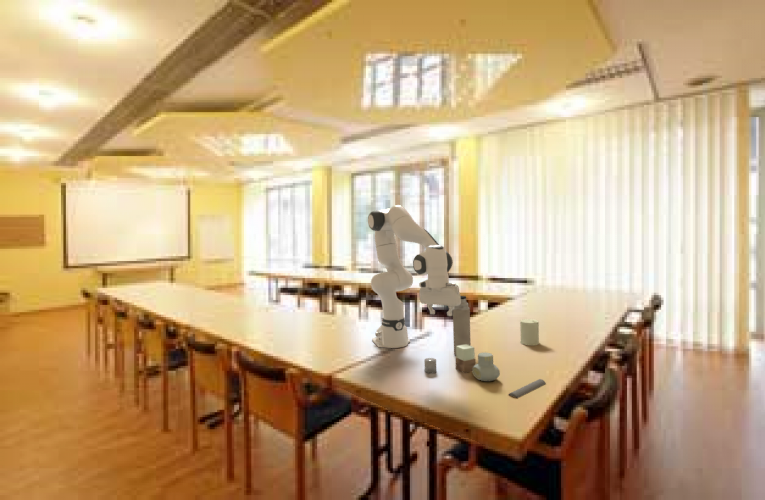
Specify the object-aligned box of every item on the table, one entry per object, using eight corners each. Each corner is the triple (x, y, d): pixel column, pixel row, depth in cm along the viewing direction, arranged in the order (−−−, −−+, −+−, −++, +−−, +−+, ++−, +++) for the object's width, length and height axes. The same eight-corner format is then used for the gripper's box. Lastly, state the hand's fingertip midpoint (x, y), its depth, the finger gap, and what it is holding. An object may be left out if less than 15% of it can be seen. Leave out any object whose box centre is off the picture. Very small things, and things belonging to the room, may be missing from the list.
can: (533, 346, 205) (533, 322, 205) (516, 343, 212) (516, 320, 212) (542, 342, 212) (542, 319, 211) (526, 339, 218) (525, 317, 218)
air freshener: (502, 382, 161) (502, 357, 160) (483, 385, 158) (483, 359, 158) (487, 373, 171) (487, 349, 171) (470, 375, 169) (469, 351, 168)
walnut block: (455, 368, 178) (455, 357, 177) (466, 366, 180) (466, 355, 180) (464, 373, 172) (464, 361, 172) (475, 370, 175) (475, 358, 175)
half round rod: (546, 385, 158) (546, 380, 158) (517, 400, 145) (517, 395, 145) (536, 382, 161) (536, 377, 161) (507, 396, 149) (507, 391, 149)
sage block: (456, 357, 177) (456, 346, 177) (466, 355, 180) (466, 344, 180) (464, 361, 172) (463, 349, 172) (474, 358, 175) (474, 347, 175)
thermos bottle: (455, 350, 203) (453, 294, 201) (471, 351, 200) (470, 295, 199) (452, 355, 195) (451, 297, 194) (469, 356, 193) (468, 297, 191)
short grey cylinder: (422, 370, 177) (422, 359, 176) (432, 368, 179) (431, 357, 179) (428, 374, 172) (428, 362, 172) (438, 372, 174) (438, 360, 174)
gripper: (462, 282, 170) (465, 315, 170) (425, 281, 185) (428, 312, 185) (453, 284, 166) (456, 318, 166) (416, 283, 181) (418, 314, 181)
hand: (441, 315), depth 176 cm, fingers open, 8 cm apart
